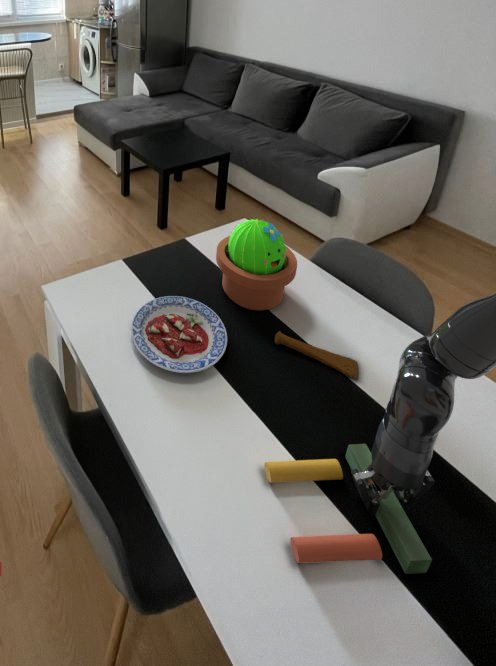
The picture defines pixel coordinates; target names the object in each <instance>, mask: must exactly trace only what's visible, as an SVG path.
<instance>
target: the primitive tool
mask: <svg viewBox="0 0 496 666" xmlns="http://www.w3.org/2000/svg"><path fill="white" fill-rule="evenodd" d="M274 343H275V345H282V346H285V347H287V348H289V349H292V350H294V351H296V352H298V353H300V354H303V356H306V357H310V358H312V359H314V360H316V361H318V362H320V363H322V364H323V365H326V366H329V367H330V368H332V369H335V371H337V372H339V373H341V374H343V375H345V376H347V377H349V378H351V379H358V374H359V366H358V362H357V361H356V360H354V359H352V358H351V357H346V356H344V355H340V354H337V353H334V352H331V351H329V350H326V349H323V348H319V347H316V346H314V345H313V344H309V343H306V342H303V341H301V340H298V339H295V338H293V337H291V336H288V335H287V334H286V335H285V334H284V333H282V331H280V330H278V331H277V333H276V334H275V335H274Z"/></svg>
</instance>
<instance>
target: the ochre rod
mask: <svg viewBox="0 0 496 666" xmlns="http://www.w3.org/2000/svg"><path fill="white" fill-rule="evenodd" d="M264 473H265V477H266V479H267V482H269V483H270V484H271V483H291V482H314V481H315V482H317V481H338V480H339V481H340V480H343V478H344V472H343V469H342V466H341V464H340V462H339V460H338V459H336V458H322V459H299V460H277V461H264Z"/></svg>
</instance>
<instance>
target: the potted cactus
mask: <svg viewBox="0 0 496 666" xmlns="http://www.w3.org/2000/svg"><path fill="white" fill-rule="evenodd" d="M232 229H233V231H230V233H231V234H230V235H228V236H226V237H224V238H223V239H221V240H220V241H219V243H218V244H217V246H216V252H215V253H216V254H215V255H216V256H215V260H216V264H217V266H218V268H219V270H220V271H221V272H222V282H221V283H222V290H223V291H224V293H225V295H226V296H227V297H228V298H229V299H230V300H231V301H232V302H233V303H235V304H236V305H238V306H240V307H242V308H244V309H247V310H251V311H268V310H270V309H273V308H275V307H277V306H278V305H280V304H281V302H282V301H283V299H284V293H285V288H286V286H288V285H290V284H291V283H292V282H293V281H294V279H295V278H296V275H297V268H298V259H297V257H296V255H295V254H294V253H293V251H292V250H291V249H290V248H289V247H288V246H287V245H286V244H285V240H284V238H283V235H282V234H281V233H280V232H281V231H279V230H278V229H277V227H276V226H275V225H274V224H273V223H270V222H268V221H265V219H264V218H263V219H259V218H255V219H254V218H253V219H251V218H250V217H249V218H248V219H247V220H245V221H241V222H239V224H237V225H236V226H235V228H232Z"/></svg>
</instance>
